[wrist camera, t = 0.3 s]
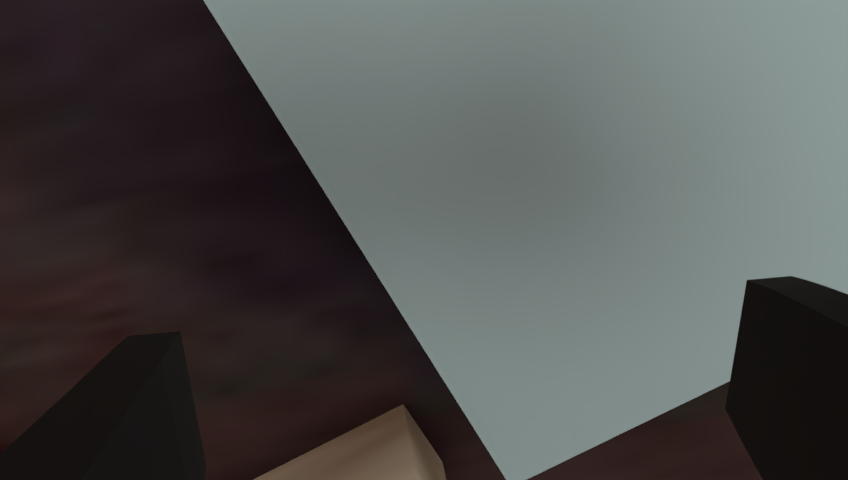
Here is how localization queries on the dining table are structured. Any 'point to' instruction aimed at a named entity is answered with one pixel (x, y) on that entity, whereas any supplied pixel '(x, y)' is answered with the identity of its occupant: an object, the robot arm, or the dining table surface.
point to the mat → (568, 185)
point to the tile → (369, 454)
